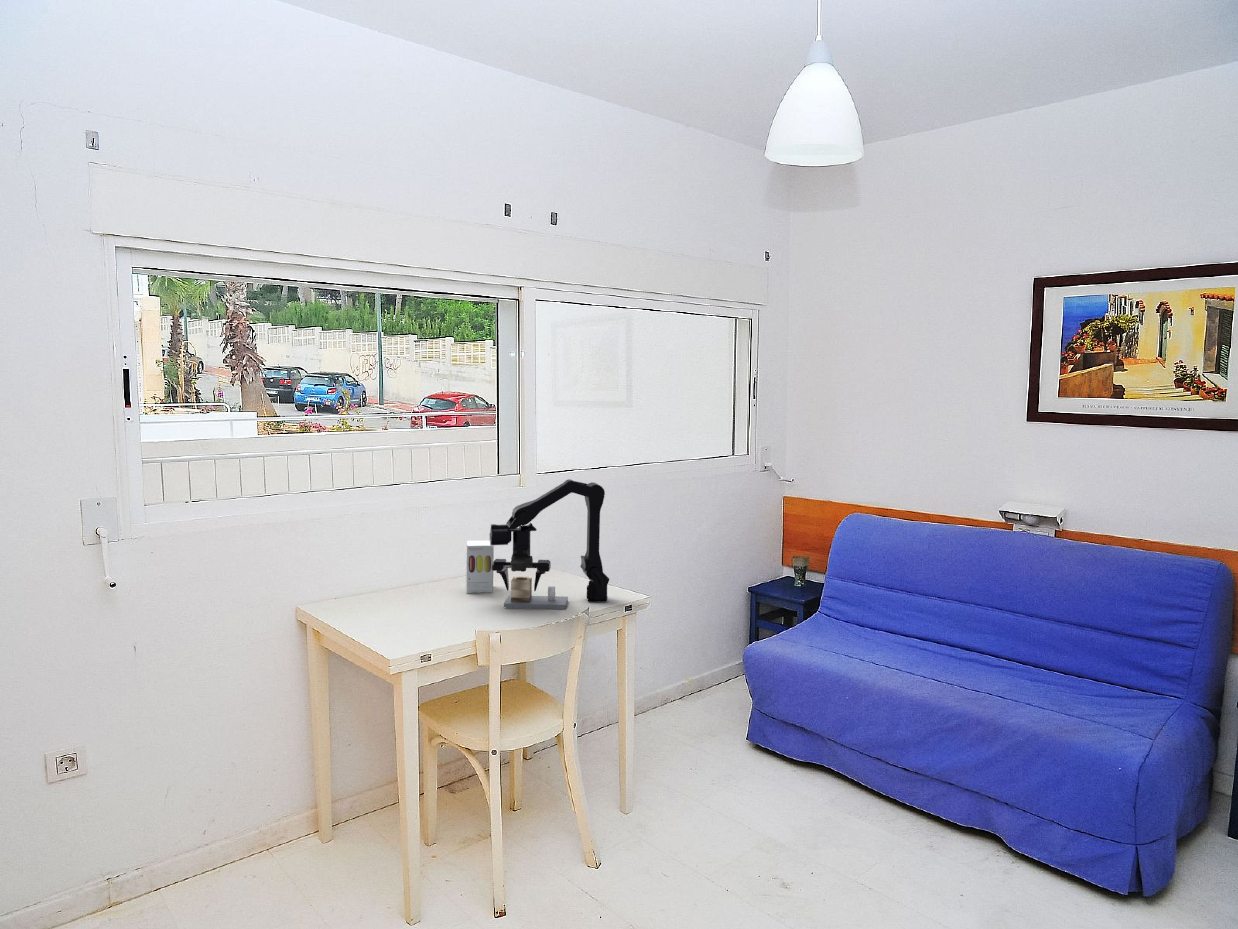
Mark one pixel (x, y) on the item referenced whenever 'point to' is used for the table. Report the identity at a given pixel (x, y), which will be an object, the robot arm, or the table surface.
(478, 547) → the supplement box
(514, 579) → the sleeve
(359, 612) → the table surface
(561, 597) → the pin board
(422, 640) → the table surface
